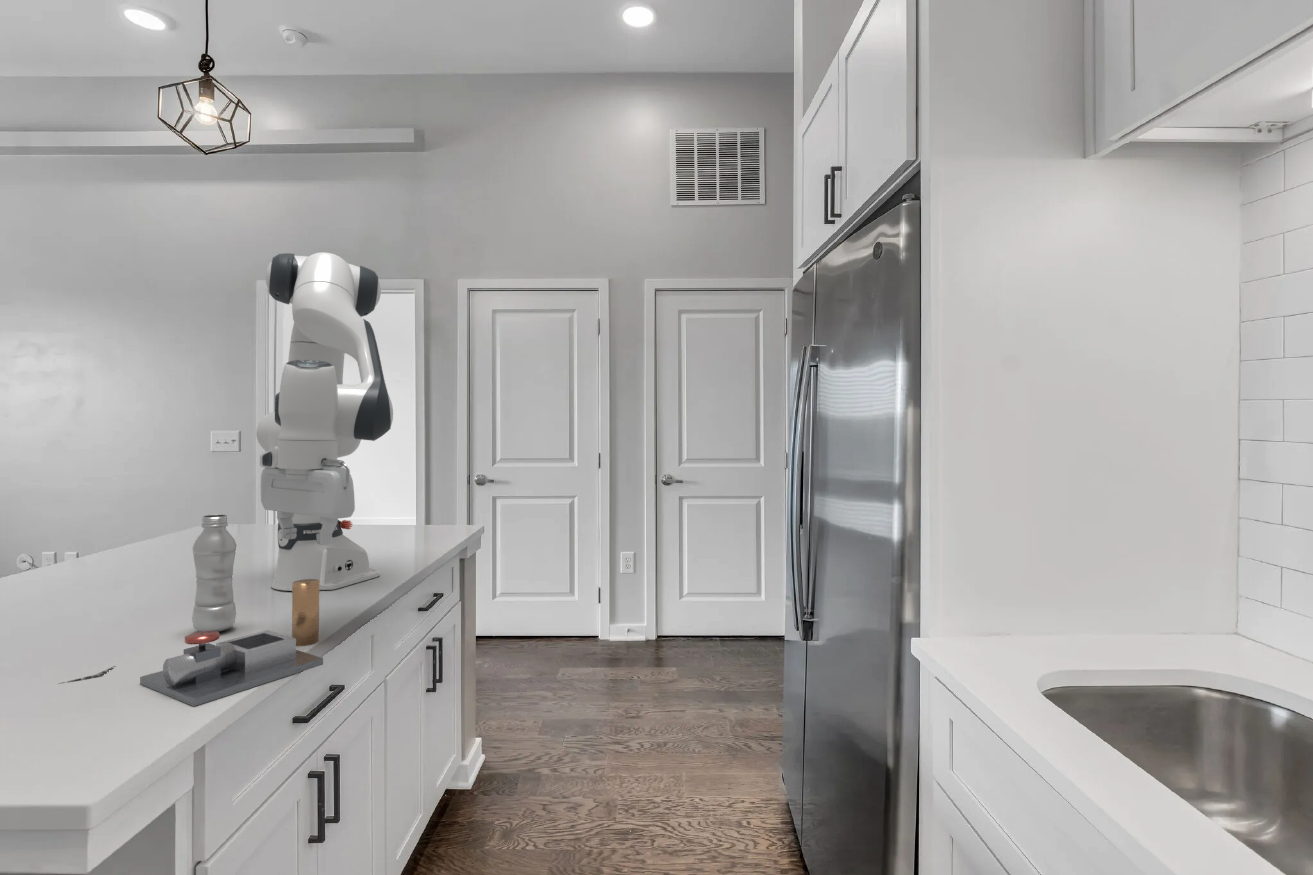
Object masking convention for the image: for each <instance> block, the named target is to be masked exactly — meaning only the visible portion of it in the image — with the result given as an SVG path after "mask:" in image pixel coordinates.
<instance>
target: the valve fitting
mask: <svg viewBox="0 0 1313 875" xmlns="http://www.w3.org/2000/svg"><path fill="white" fill-rule="evenodd" d="M219 639H220V631H219V632H217V631H203V632H198V631H197V632H193V633H190V634H187V635H186V636H184V644H187V645H196V646H192V647H188V648H184V649H183V654H182V655H181V654H180V655H177V656H174V657H168V658H166V659H165V660H164V662H163V665H162V670H160V671H156V672H153V673H149V674H146V675H143V676H140V677H139V684H140V685H141V686H143V687H146V688H149V689H151V690H153V691H156V692H157V693H160V694H163V695H165V696H167V697H170V698H172V699H175V700H177V701H179V702H182V703H183V704H187V705H190V706H192V707H196V706H197V707H198V706H201V705H203V704H206V703H209V702H213V701H215V700H218V699H222V698H225V697H227V696H231V695H234V694H236V693H240V692H242V691H246V690H249V689H253V688H255V687H259V686H261V685H265V684H268V683H271V682H274V681H277V680H279V679H283V678H287V677H289V676H292V675H295V674H299V673H301V672H304V671H308V670H311V669H314V668H317V667H320V666H322V665H324V658H323V657H321V656H318V655H314V654H312V653H308V652H305V651H300V650H297V646H296V638H292V636H288V635H285V634H281V633H278V632H274V631H271V630H268V629H267V630H263V631H258V632H255V633H250V634H246V635H243V636H239V637H235V638H230V639H227V640H224V641H220V642H216V643H215V644H212V642H215V641H217V640H219Z"/></svg>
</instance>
